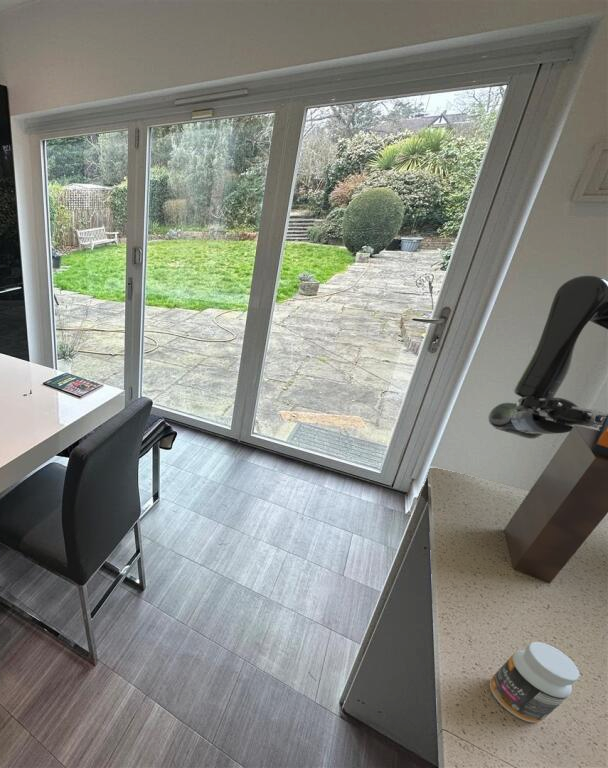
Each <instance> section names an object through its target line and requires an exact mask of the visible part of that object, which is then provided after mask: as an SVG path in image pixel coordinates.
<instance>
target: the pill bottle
mask: <svg viewBox="0 0 608 768" xmlns="http://www.w3.org/2000/svg"><path fill="white" fill-rule="evenodd" d="M579 678H580V671H579V668H578V667H577V665H576V664H575V662H574V661H572V660H571V659H570V657H568V656H567V655H566V654H565V653H564V652H562V651H561V650H560V649H557V648H556V647H554V646H552V645H550V644H548V643H545V642H541V641H533V642H530V643H529V644H528V645H527V646H526V647H525V648H524V649H519V650H517V651H515V652H514V653H512V654H511V656H510V657H508V659H507V660H506V662H504V663H503V665H501V667H500V668H499V669H498V670H497V671H496V672H495V673H494V674H493V675H492V677H491V678H490V680H489V688H490V691H491V694H492V695H493V697H494V698H495V700H496V701H497V702H498V704H500V705H501V706H502V707H503V708H504V709H505V710H506V711H507V712H508V713H510V714H511V715H513V716H514V717H516V718H518V719H520V720H522V721H525V722H528V723H540V722H542V721H543V720H545V719H546V718H547V717H548V716H549V715H550V714H551V713H552V712H554V710H555V709H557V708H558V707H559V706H560V705H562V703H564V702H565V700H567V698H569V697H570V696H571V694H572V692H573V685H574V684H575V683H576V682H577V681H579Z"/></svg>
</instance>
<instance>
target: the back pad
mask: <svg viewBox="0 0 608 768" xmlns="http://www.w3.org/2000/svg"><path fill="white" fill-rule="evenodd" d="M599 431H600V432H599V434H598V437H597V439H596V442H595V444H594V447H593V449H592V452H594V453H597V454H600V455H603V456H606V457H608V415H607V417H605V419H604V422H603V424H602V427H601V429H600V430H599Z"/></svg>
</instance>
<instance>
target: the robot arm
mask: <svg viewBox="0 0 608 768" xmlns="http://www.w3.org/2000/svg"><path fill="white" fill-rule="evenodd" d="M546 318H547V319H546V321H545V323H544V327H543V329H542V332H541V335H540V338H539V340H538V343H537V345H536V347H535V349H534V351H533V353H532V355H531V357H530V360H529V361H528V363H527V365H526V367H525V368H524V370H523V372H522V374H521V375H520V377H519V379H518V382H516V384H515V387H514V389H513V393H514V394H515V395H516V396H517V397H519V399H518V401H517V403H515V402H503V403H500V404H497V405H495V406H494V407H493V408H492V409H491V410H490V411H489V413H488V416H487V420H488V422H489V425H490V426H491V427H492V428H493V429H496V430H499V431H502V432H504V433H508V434H512V435H515V436H519V437H521V438H525V439H529V440H534V439H538V438H539V437H541V436H543V435H555V434H567V433H570V431H571V430H572V428H573V427H574V425H578V426H582V427H586V428H590V429H597V428H598V429H597V430H599V431H600V429H601V427H602V424H603V422H604V419H605V418H606V417H607V415H608V413H607V412H605V413H604V412H602V411H600V410H597V409H590V408H582V407H580V406H578V405H577V404H575V403H574V402H572V401H570V400H569V399H567V398H562V397H555V396H556V395H557V393H558V391H559V389H560V388H561V386H562V384H563V383H564V382H565V380H566V378H567V375H568V374H569V372H570V368H571V366H572V360H573V356H574V351H575V347H576V345H577V342H578V339H579V337H580V335H581V333H582V332H583V330H584V328H585V327H586V325H587V324H588V323H589V322H590V323H593V324H595V325H597V326H599V327H601V328H603V329H604V330H606V331H608V278H605V277H602V276H597V275H589V274H587V275H579V276H576V277H573V278H571V279H569V280H567V281H566V282H564V283H563V284H562V285H560V287H559V288H558V289H557V290H556V292H555V294H554V296H553V299H552V302H551V306H550V307H549V312H548V315H547V317H546Z"/></svg>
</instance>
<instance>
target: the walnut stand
mask: <svg viewBox="0 0 608 768" xmlns="http://www.w3.org/2000/svg"><path fill="white" fill-rule="evenodd" d="M599 432H600V430H598V429H595V428H589V427H582V426H578V425H574V427H573V428H572V430H571V431H570V432H568V434H567V435H566V437H565V438H564V440H563V441H562V443H560V446H559V447H558V449H557V450H556V452H555V453H554V454H553V456H552V458H551V459H550V460H549V462H548V464H547V465H546V467H545V468H544V469H543V471H542V472H541V474H540V475H539V477H538V478H537V480H536V481H535V483H534V484H533V485H532V487H531V488H530V490H529V492H528V493H527V494H526V496H525V497H524V499H523V500H522V502H521V503H520V505H519V506H518V507H517V509H516V510H515V512H514V514H513V515H512V516H511V518H510V520H509V521H508V522H507V524H506V526H505V527H504V529H503V531H504V535H505V540H506V543H507V548H508V552H509V556H510V560H511V565H512V569H513V570H515V571H517V572H520V573H523V574H525V575H528V576H529V577H531V578H532V577H533V578H535V579H538V580H540V581H543V582H546V583H548V584H551V583H552V582H553V580H554V579H555V578H556V577H557V576H558V575H559V573H560V572H561V571H562V569H563V568H564V567H565V566H566V565H567V563H568V562H569V561H570V560H571V558H572V557H573V556H574V555H575V554H576V552H577V551H578V550H580V549H579V548H580V547H581V546H582V545H583V544H584V543H585V541H587V539H588V538H589V536H591V534H592V533H593V531H594V530H595V529H596V528H597V527H598V525H599V524H600V523H601V522H602V521H603V519H604V518H605V517H606V516H607V515H608V457H606V456H603V455H600V454H597V453H594V452H592V449H593V447H594V444H595V442H596V439H597V437H598V434H599Z"/></svg>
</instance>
